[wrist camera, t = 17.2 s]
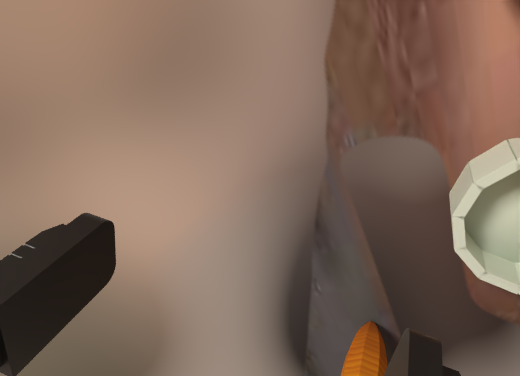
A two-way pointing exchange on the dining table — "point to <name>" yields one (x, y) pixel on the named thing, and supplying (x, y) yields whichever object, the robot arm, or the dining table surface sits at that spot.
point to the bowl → (490, 215)
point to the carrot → (366, 353)
